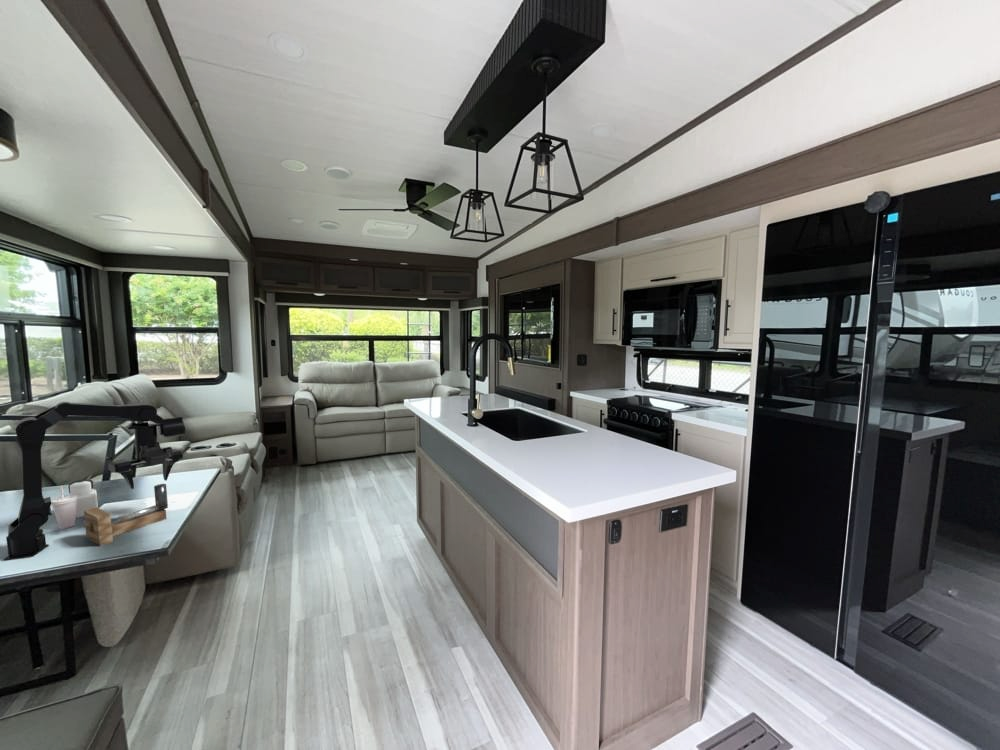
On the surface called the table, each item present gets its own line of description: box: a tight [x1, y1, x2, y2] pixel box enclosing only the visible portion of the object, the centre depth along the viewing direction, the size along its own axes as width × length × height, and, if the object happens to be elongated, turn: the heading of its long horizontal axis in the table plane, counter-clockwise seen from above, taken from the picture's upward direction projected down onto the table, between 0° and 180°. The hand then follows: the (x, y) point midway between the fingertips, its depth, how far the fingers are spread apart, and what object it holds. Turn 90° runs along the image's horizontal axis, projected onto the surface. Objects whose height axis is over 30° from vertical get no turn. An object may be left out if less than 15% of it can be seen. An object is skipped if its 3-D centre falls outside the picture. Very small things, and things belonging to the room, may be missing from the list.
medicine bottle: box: [68, 479, 99, 519], centre depth 143 cm, size 7×7×12 cm
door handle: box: [117, 483, 169, 523], centre depth 135 cm, size 13×3×8 cm, turn 152°
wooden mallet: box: [84, 507, 167, 547], centre depth 132 cm, size 18×10×9 cm, turn 152°
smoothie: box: [51, 485, 78, 530], centre depth 134 cm, size 6×6×14 cm
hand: (149, 484), depth 138 cm, fingers open, 9 cm apart
